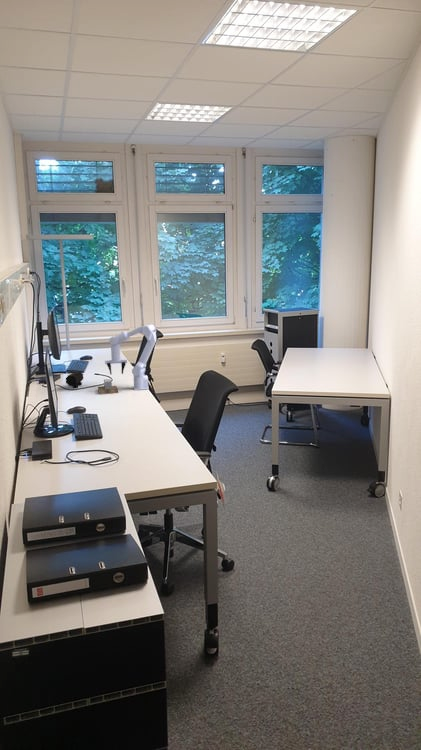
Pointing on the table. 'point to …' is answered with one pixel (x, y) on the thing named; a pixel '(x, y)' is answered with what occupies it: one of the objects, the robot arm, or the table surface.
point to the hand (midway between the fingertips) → (116, 373)
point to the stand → (107, 390)
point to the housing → (107, 384)
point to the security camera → (74, 379)
